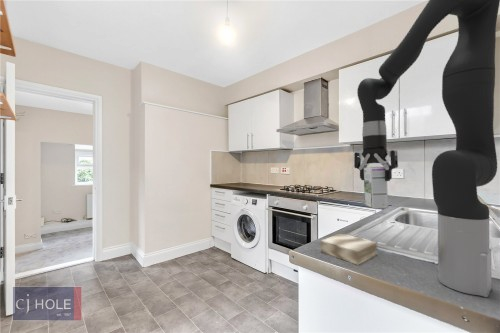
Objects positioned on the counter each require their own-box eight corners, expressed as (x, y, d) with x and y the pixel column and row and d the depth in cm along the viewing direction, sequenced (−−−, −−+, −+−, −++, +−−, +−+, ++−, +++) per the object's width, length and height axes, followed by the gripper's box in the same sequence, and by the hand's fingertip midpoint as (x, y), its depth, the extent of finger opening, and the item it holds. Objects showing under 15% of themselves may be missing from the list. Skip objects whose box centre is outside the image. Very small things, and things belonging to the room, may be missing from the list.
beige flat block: (376, 254, 75) (376, 242, 75) (358, 265, 68) (357, 251, 68) (340, 243, 85) (340, 233, 85) (321, 251, 78) (320, 240, 78)
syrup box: (388, 208, 78) (388, 166, 78) (371, 208, 79) (370, 167, 78) (379, 205, 84) (379, 166, 84) (363, 205, 84) (362, 166, 84)
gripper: (401, 133, 78) (401, 180, 78) (359, 137, 89) (360, 179, 89) (391, 131, 73) (392, 182, 73) (349, 136, 85) (350, 180, 85)
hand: (375, 180), depth 81 cm, fingers closed on syrup box, 8 cm apart
